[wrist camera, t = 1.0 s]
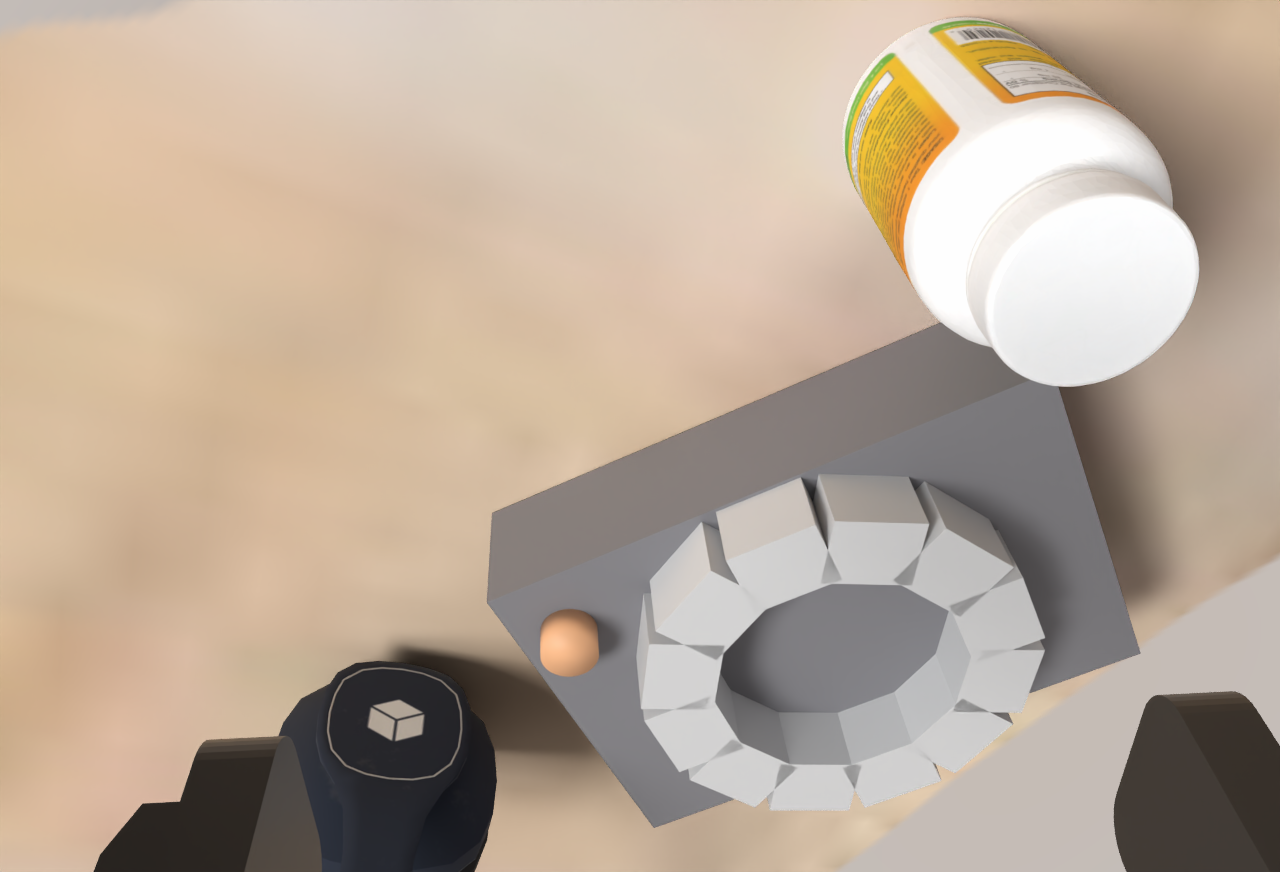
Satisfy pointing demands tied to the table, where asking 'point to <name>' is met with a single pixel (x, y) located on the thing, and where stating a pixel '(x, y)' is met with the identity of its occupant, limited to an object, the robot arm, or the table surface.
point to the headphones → (395, 770)
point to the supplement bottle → (1019, 202)
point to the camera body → (818, 584)
